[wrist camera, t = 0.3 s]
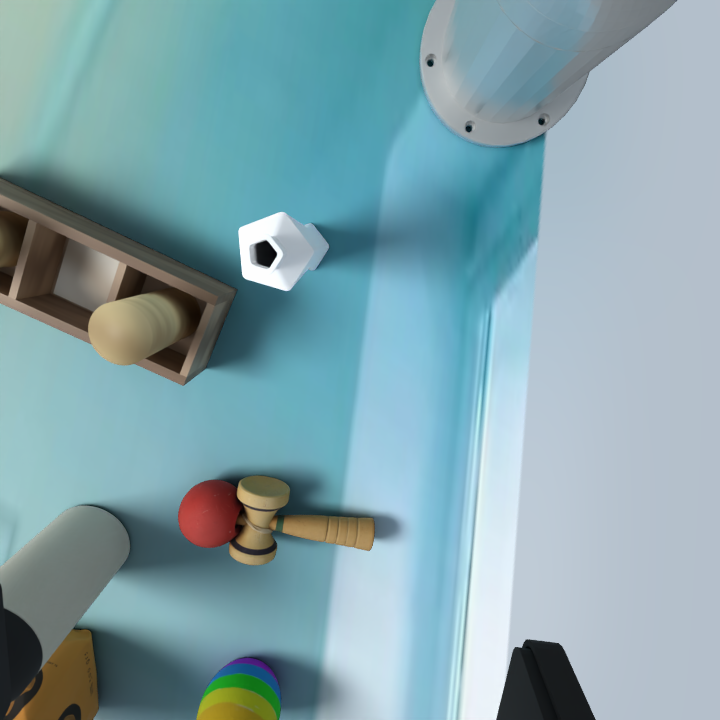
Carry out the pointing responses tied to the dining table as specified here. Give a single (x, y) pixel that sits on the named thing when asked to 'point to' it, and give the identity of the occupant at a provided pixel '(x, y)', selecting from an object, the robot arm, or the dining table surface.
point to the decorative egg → (242, 693)
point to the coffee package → (62, 684)
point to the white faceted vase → (279, 250)
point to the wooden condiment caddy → (107, 288)
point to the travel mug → (57, 585)
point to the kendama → (259, 520)
